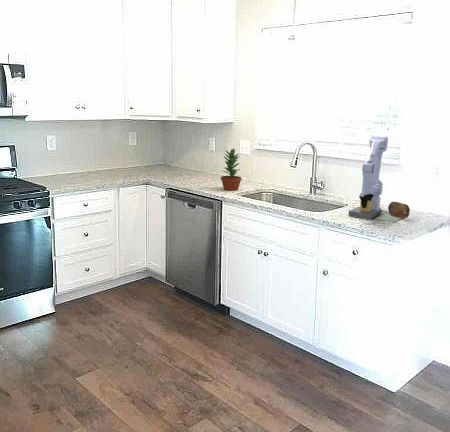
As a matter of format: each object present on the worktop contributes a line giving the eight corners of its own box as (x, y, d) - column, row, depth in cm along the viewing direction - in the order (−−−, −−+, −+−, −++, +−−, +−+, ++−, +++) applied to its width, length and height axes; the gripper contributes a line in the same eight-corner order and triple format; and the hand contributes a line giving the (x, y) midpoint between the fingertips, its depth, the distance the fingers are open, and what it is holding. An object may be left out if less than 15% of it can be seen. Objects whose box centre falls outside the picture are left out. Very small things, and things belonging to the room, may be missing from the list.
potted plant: (233, 186, 376) (234, 145, 369) (245, 190, 364) (246, 147, 357) (215, 188, 368) (216, 146, 361) (227, 192, 356) (228, 148, 349)
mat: (382, 215, 298) (382, 214, 298) (401, 218, 292) (401, 217, 291) (375, 219, 289) (375, 218, 289) (394, 222, 283) (394, 221, 283)
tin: (387, 214, 302) (388, 200, 300) (391, 213, 303) (392, 199, 301) (405, 220, 289) (407, 205, 287) (409, 219, 290) (411, 205, 288)
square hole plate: (358, 211, 307) (358, 206, 306) (381, 215, 299) (381, 210, 298) (348, 215, 296) (348, 210, 295) (371, 219, 288) (372, 214, 287)
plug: (362, 213, 300) (363, 199, 298) (370, 214, 297) (371, 200, 296) (359, 214, 297) (360, 200, 295) (367, 215, 294) (368, 202, 292)
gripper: (369, 186, 285) (367, 210, 288) (379, 183, 296) (376, 206, 300) (357, 184, 289) (355, 208, 292) (367, 181, 300) (365, 204, 304)
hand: (365, 207), depth 296 cm, fingers closed on plug, 4 cm apart
